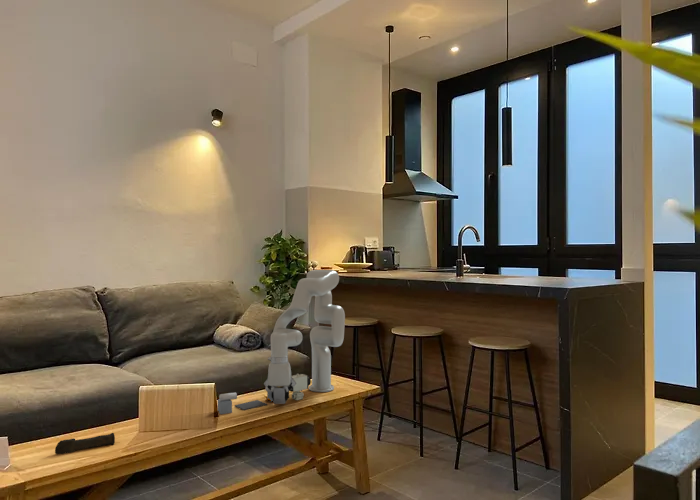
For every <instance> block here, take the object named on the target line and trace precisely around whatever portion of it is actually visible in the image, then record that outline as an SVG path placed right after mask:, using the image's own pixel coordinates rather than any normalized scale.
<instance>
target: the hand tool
mask: <svg viewBox="0 0 700 500" xmlns="http://www.w3.org/2000/svg"><path fill="white" fill-rule="evenodd" d="M115 436H116V435H115V433H114V432H111V433H109V434H101V435H96V436H93V437H87V438H81V439H76V438H70V439H69V438H68V439H63V440H59V441H58V443H57V444H56V446H55V448H54V453H55V454H56V455H62V454H63V455H64V454H71V453H75V452H76V451H78V450H83V449H84V450H85V449H89V448H94V447H95V448H96V447H100V446H107V445H113V446H114V445H115V442H116V437H115Z"/></svg>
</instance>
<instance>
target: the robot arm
mask: <svg viewBox="0 0 700 500" xmlns="http://www.w3.org/2000/svg"><path fill="white" fill-rule="evenodd" d="M339 281H340V275H339V273H338V272H337V271H336V270H333V269H331V270H330V269H328V270H327V269H325V270H324V269H312V270H309V271H308V272H307V273H306V277H305V278H301V279H299V280H298V282H297V284H296V287H295V291H294V294H293V296H292V301H291V302H290V306H289V307H288V308H287V309H286V310H284V311H283V312H282V313H281V315H279V317H278V318H277V320H276V322H275V325H274V328H273V329H272V330H273V331H272V333H271V334H270V356H269V357H267V361H270V362H269V364H268V372H267V373H268V374H267V379H266V380H265V381H264V383H263V385H264V386H265V388H266V387H268V389H269V390H270V391H271V393H272V398H273V401H274V390H273V388H274V387H275V386H285V389H286V392H285V401H286V402H288V400H289V399H290V391H289V390H290V389H291V388H292V387H294V386H295V385H296V382H295V381H294V379H293V378H292V376H293V375H292V370H291V369H292V367H291V364H290V362H289V352H288V351H289V350H288V348H289V347H297V346H299V345H301V343H302V341H303V338H304V337H303V334H302V332H301V331H300V330H297V329H291V328H287V326H288V325H289V324H290V322H291V321H293V320H294V319H296V318H299V317H301V316H303V315H305V314H306V313H307V312H308V310H309V307H310V304H311V301H312V298H313V297H314V298H315V299H314V313H313V314H314V316H313V319H314V320H315V322H316V323H319V324H325V326H323V325H317V326H314V327H312V329H311V330H310V331H309V339H310V340H309V341H310V345H311V384H310V385H309V387H308V390H309V391H311V392H315V393H327V392H331V391H334V389H335V386H334V385H333V384H332V367H331V366H332V355H331V350H330V348H329V347H333V348H338V347H341V346H342V345H343V342H344V340H345V339H344V338H345V325H346V324H345V322H346V314H345V313H346V312H345V310H344V308H343V307H342V306H340V305H337V304H336V305H335V304H333V295H332V290H333V289H335V288H336V287H337V285H338V284H339ZM326 325H331V326H326ZM291 382H292V385H290V383H291ZM289 385H290V386H289Z"/></svg>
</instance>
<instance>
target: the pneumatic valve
mask: <svg viewBox="0 0 700 500" xmlns="http://www.w3.org/2000/svg"><path fill="white" fill-rule="evenodd" d="M291 376H292V378H293V379H294V381H295V382H296V385H295V386H294V387H292V388H291V389H290V390H289V392H292V394H291V398H292V400H295V401H300V400H303V399H304V396H305V394H304V392H303V391H304V390H309V386H311V384H312V379H311V378H310V376H309V375H307V374H305V373H300V374H299V373H296V374H294V375H291ZM290 385H292V382H291V383H290ZM290 385H289V386H290Z"/></svg>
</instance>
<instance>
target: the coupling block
mask: <svg viewBox="0 0 700 500" xmlns="http://www.w3.org/2000/svg"><path fill="white" fill-rule="evenodd" d="M273 390H274V402H273V404H276V405H279V404H281V405H285V404H287V401H285V392H286V389H285V386H275V387H274V388H273Z"/></svg>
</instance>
